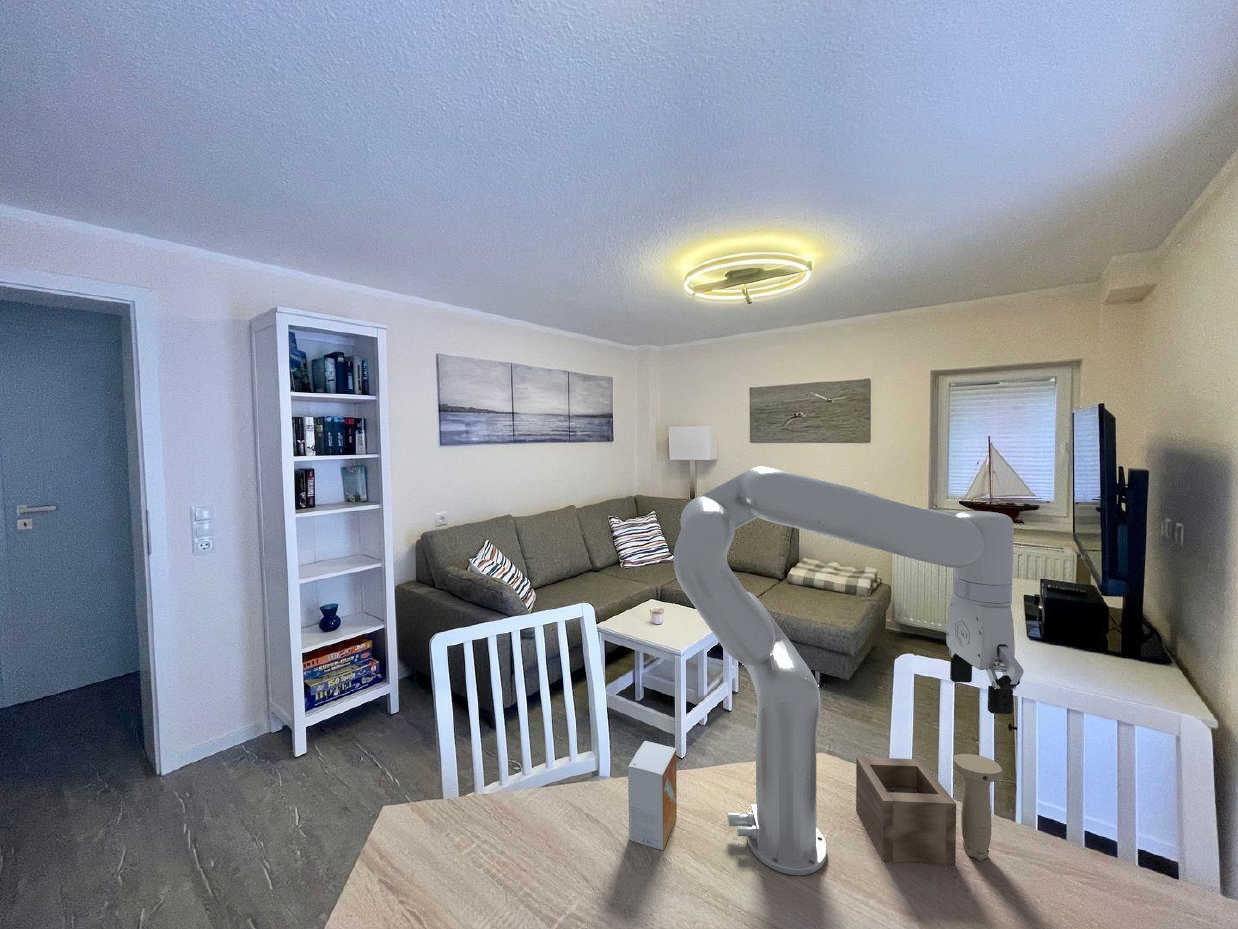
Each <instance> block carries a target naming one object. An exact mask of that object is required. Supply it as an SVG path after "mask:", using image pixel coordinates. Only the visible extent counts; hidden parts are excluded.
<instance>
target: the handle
mask: <svg viewBox="0 0 1238 929" xmlns="http://www.w3.org/2000/svg"><path fill="white" fill-rule="evenodd" d="M952 760H953V762H952V763H953V764H952V765H953V767H954V769H955V770H956V771H957V772H958V773H959V774H960V775H961V776H963V781H964V782H963V792H962V793H963V794H962V802H961V817H960V818H961V820H960V823H961V833H962V834H961V835H962V846H963V849H964V850H965V852H966V854H967V855H968V856H969V857H973V858H974V859H977V861H983V860H984V859H988V858H989V855H990V850H989V848H990V845H991V839H992V827H993V826H992V811H991V810H992V809H991V790H990V789H991V783H994V782H997V781H999V780H1002V777H1003V768H1002V766H1001V765H1000V764H999V763H997V762H996V760H993V759H992V758H989V757H985V756H982V755H978V754H971V753H958V754H955V755H953V758H952Z"/></svg>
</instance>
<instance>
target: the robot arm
mask: <svg viewBox="0 0 1238 929" xmlns="http://www.w3.org/2000/svg"><path fill="white" fill-rule="evenodd" d="M757 518H758V519H761V520H763V521H766V522H769V523H772V524H773V523H774V524H778V525H782V526H786V527H789V528H795V529H798V530H802V531H807V532H811V533H815V534H818V535H821V536H826V537H830V538H833V539H837V540H840V541H844V542H847V543H851V544H854V545H859V546H862V547H863V546H864V547H868V548H873V549H876V550H879V551H883V552H887V553H889V554H890V553H891V554H894V555H897V556H901V557H905V558H908V559H912V560H916V561H921V562H924V563H928V564H933V565H937V566H941V567H944V568H950V569H953V581H952V582H953V587H952V590H953V591H952V594H951V596H950V600H949V601H950V602H949V607H948V613H947V624H946V625H945V630H946V645H947V647H948V648H949V650H948V654H949V656H950V669H949V670H950V671H949V679H950V681H951V682H953V683H968V684H969V683H972V682H973V667H974V668H976V669H977V670H978V671H985V672H986V674H987V676H988V679H989V681H990V684H991V685H987V711H988V712H989V713H990V714H997V715H999V714H1000V715H1011V714H1013V712H1014V711H1013V710H1014V703H1013V702H1014V690H1016V689H1017V686H1018V685H1020V683H1021V681H1020V680H1021V679H1022V677H1023V675H1024V673H1025V671H1024V669H1023V667H1022V666H1021V664H1020V663H1019V661H1018V660H1017V659H1016V657H1015V652H1016V651H1015V650H1016V649H1015V648H1016V645H1015V644H1016V643H1015V626H1014V617H1013V613H1012V612H1013V611H1012V606H1011V605H1012V604H1013V578H1014V577H1013V575H1014V573H1013V572H1014V571H1013V570H1014V567H1013V566H1014V539H1015V538H1014V536H1015V533H1014V530H1015V527H1014V526H1015V524H1014V521H1013V518H1012V517H1010V516H1009V515H1007V514H1004V513H999V512H993V511H983V510H969V511H961V512H958V511H957V512H955V511H944V510H938V509H937V510H936V509H929V508H921V507H917V506H914V505H911V504H910V505H909V504H905V503H901V502H898V501H894V500H890V499H889V498H884V497H882V496H879V495H876V494H874V493H870V492H868V491H864V490H860V489H857V488H854V487H851V486H847V485H844V484H843V485H842V484H838V483H834V482H830V481H826V480H822V479H819V478H813V477H809V476H805V475H800V474H796V473H792V472H788V471H784V470H781V469H777V468H772V467H767V466H757V467H752V468H750V469H747V470H745V471H743V472H742V473H740V474H738V475H736V476H735V477H733V478H731V479H729V480H727V481H725V482H723V483H721V484H720V485H718V486H716V487H714V488H711V489H710V490H708V491H707V492H704V493H702V494H701V495H699V496H697V497H695V498H693V499H692V500H690V501H689V502H688V503H687V504H686V505H685V507H684V508H683V509H682V512H681V515H680V518H679V519H680V528H681V529H680V532H679V534H678V537H677V540H676V543H675V546H674V549H673V550H674V551H673V568H674V573H675V577H676V579H677V582H678V584H679V585H680V587H681V589H682V591H683V592H684V594H685V596H687V598H688V599H689V601H690V602H691V604H692V605H693V606H694V608H695V609H696V611H697V612H698V613H699V615H700V617H701V618H702V619H703V621H704V623H706V625H707V627H708V628H709V629H710V630H711V632H712V634H713V635H714V636H715V638H716V639H717V640H718V643H719V644H720V645H721V647H722V649H723V650H724V651H725V653H727V654H728V656H730V657H731V658H732V659H733V660H736V661H737V662H739V663H741V664H742V665H743V666H744V668H745V669H746V671H747V672H748V674H749V675H750V679H751V681H752V684H753V685H752V686H753V687H754V690H755V694H756V699H757V711H756V712H757V716H756V723H755V804H751V811H749V810H748V811H746V812H745V813H739V812H727V822H728V824H727V825H728V827H736V828H737V832H736V833H737V836H738V837H746V840H747V845H748V847H749V848H750V850H751V852H752V853H753V854H754V856H755V857H756V858H757V859H758V860H759V861H760V862H761V863H763V864H764V865H766V866H767V867H769V868H771V870H773V871H774V870H775V871H777V872H779V873H781V874H786V875H789V876H790V875H792V876H804V875H805V876H806V875H809V874H813V873H815V872H817V871H819V870H821V869H822V867H823V866H824V864H825V863H826V860H827V856H828V853H827V852H828V851H827V849H828V848H827V843H826V840H825V837H824V835H823V834H822V833H821V831H820V830H819V829H818V828H817V739H818V737H817V736H818V726H819V718H820V713H821V701H822V700H821V692H820V689H819V685H818V683H817V680H816V679H815V676H814V675H813V673H812V671H811V669H810V668H809V666H808V665H807V663H806V662H805V660H804V659H803V657H802V656H801V655H800V653H799V652H798V650H797V649H796V647H795V646H794V645H793V643H792V642H791V641H790V639H789V638H788V636H787V635H786V634H785V633H784V631H783V630H782V629H781V627H780V626H779V625H778V623H777V622H776V621H775V619H774V618H773V616H772V615H771V614H770V613H769V611H768V610H767V609H766V607H765V606H764V604H763V603H762V601H760V599H759V598H757V596H755V595H754V594H753V593H751V592H750V591H747V590H746V589H745V587H744V585H742V583H741V581H740V580H739V579H738V577H737V576H736V574H735V573H734V571H732V569H731V567H730V565H729V563H728V553H729V550H730V547H731V546H732V544H733V540H734V537H735V533H736V532H735V530H737V529H738V528H741V527H742V526H745V525H747V524H748V523H750V522H752V521H754V520H755V519H757ZM994 664H995V665H994ZM996 673H1002V676H1000V677H999V678H998V675H997V674H996Z"/></svg>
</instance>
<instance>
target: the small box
mask: <svg viewBox="0 0 1238 929" xmlns="http://www.w3.org/2000/svg"><path fill="white" fill-rule="evenodd" d="M627 770H628V771H627V772H628V773H627V774H628V775H627V779H628V780H627V782H628V784H627V787H628V792H627V793H628V795H627V796H628V840H629V841H632V842H634V843H638V844H641V845H644V846H647V847H650V848H652V849H653V848H654V849H657V850H660V851H664V849H665V847H666V844H667V843H668V838H669V836H670V834H671V832H672V830H673V827H674V825H675V822H676V820H677V817H678V814H677V813H678V812H677V810H678V808H677V807H678V806H677V804H678V803H677V802H678V800H677V798H678V797H677V796H678V795H677V793H678V792H677V790H678V789H677V787H678V786H677V748H676V747H672V746H667V745H663V744H660V743H656V742H652V741H647V740H644V741H643V742H642V743H641V745H640V747H639V748H638V749H637V751H636V752H635V754H634V756H633V758H632V760H631V761H630V762H629V764H628V767H627Z"/></svg>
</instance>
